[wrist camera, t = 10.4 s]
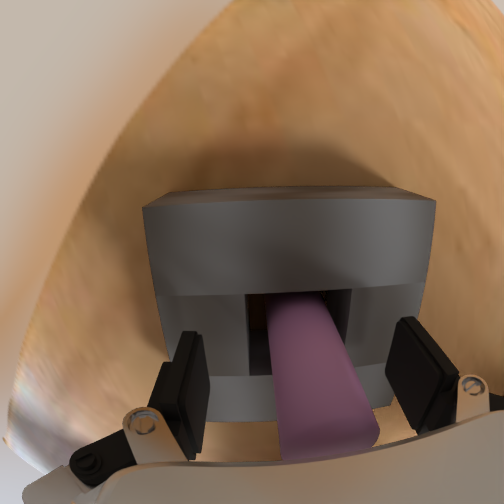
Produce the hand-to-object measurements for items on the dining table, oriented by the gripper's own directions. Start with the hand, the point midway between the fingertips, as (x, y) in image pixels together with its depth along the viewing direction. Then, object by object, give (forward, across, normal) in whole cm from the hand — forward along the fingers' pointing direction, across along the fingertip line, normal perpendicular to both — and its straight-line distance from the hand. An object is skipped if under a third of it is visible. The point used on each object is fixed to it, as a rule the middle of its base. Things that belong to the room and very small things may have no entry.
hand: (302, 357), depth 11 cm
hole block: (+5, 0, 0) cm, 5 cm away
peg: (+5, 0, 0) cm, 5 cm away
